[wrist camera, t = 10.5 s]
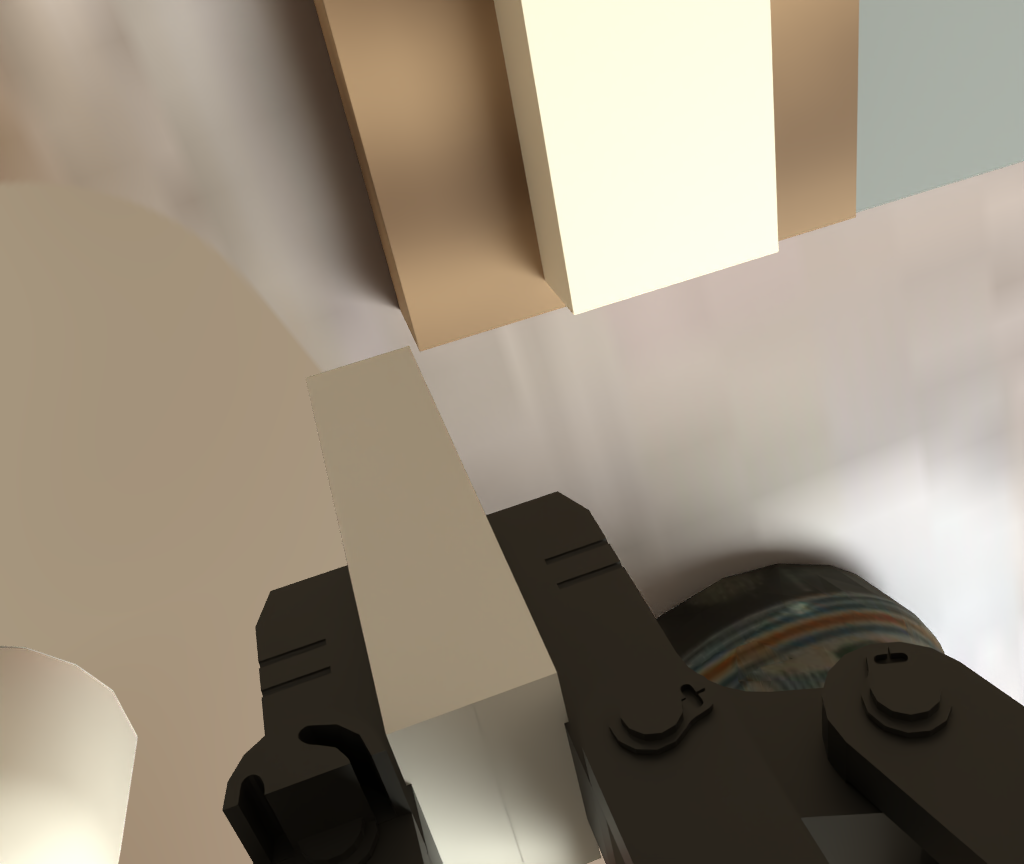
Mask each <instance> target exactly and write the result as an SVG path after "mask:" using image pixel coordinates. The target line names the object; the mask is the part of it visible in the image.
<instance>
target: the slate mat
mask: <svg viewBox="0 0 1024 864" xmlns="http://www.w3.org/2000/svg"><path fill="white" fill-rule="evenodd" d="M1023 161H1024V0H859V48H858V112H857V176H856V213H857V212H860V211H863V210H867V209H870V208H873V207H876V206H880V205H883V204H886V203H889V202H893V201H896V200H899V199H902V198H906V197H909V196H912V195H915V194H919V193H922V192H925V191H928V190H932V189H935V188H938V187H941V186H945V185H948V184H951V183H954V182H958V181H961V180H964V179H967V178H971V177H974V176H977V175H980V174H984V173H987V172H990V171H993V170H997V169H1000V168H1003V167H1006V166H1010V165H1013V164H1016V163H1019V162H1023Z"/></svg>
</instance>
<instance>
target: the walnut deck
mask: <svg viewBox="0 0 1024 864" xmlns="http://www.w3.org/2000/svg"><path fill="white" fill-rule="evenodd" d="M314 4H315V7H316V11H317V14H318V18H319V22H320V25H321V29H322V32H323V36H324V39H325V43H326V46H327V50H328V54H329V57H330V61H331V64H332V68H333V71H334V75H335V79H336V82H337V86H338V89H339V93H340V96H341V100H342V104H343V107H344V111H345V114H346V118H347V121H348V125H349V128H350V132H351V136H352V139H353V143H354V146H355V150H356V153H357V157H358V161H359V164H360V168H361V171H362V175H363V178H364V182H365V185H366V189H367V193H368V196H369V200H370V203H371V207H372V210H373V214H374V218H375V221H376V225H377V228H378V232H379V235H380V239H381V242H382V246H383V250H384V253H385V257H386V260H387V264H388V267H389V271H390V275H391V278H392V282H393V285H394V289H395V292H396V296H397V299H398V303H399V307H400V310H401V312H402V315H403V317H404V319H405V321H406V323H407V325H408V327H409V329H410V331H411V334H412V336H413V338H414V340H415V342H416V344H417V346H418V348H419V351H423V350H427V349H430V348H433V347H436V346H440V345H443V344H446V343H449V342H453V341H456V340H459V339H462V338H466V337H469V336H472V335H475V334H479V333H482V332H485V331H488V330H491V329H495V328H498V327H501V326H504V325H508V324H511V323H514V322H517V321H521V320H524V319H527V318H530V317H534V316H537V315H540V314H543V313H547V312H550V311H553V310H556V309H560V308H563V307H566V305H565V304H564V303H563V301H562V300H561V299H560V298H559V297H558V295H557V294H556V293H555V292H554V291H553V289H552V288H551V287H550V286H549V285H548V284H547V282H546V281H545V278H544V273H543V267H542V262H541V256H540V251H539V245H538V240H537V234H536V229H535V223H534V218H533V212H532V207H531V201H530V196H529V191H528V185H527V180H526V174H525V169H524V163H523V158H522V152H521V147H520V141H519V136H518V130H517V125H516V119H515V114H514V109H513V103H512V98H511V92H510V87H509V81H508V76H507V70H506V65H505V59H504V54H503V48H502V43H501V37H500V32H499V26H498V21H497V16H496V10H495V5H494V0H314ZM770 10H771V40H772V71H773V101H774V132H775V162H776V193H777V224H778V241H780V240H783V239H787V238H790V237H793V236H796V235H800V234H803V233H806V232H809V231H813V230H816V229H819V228H822V227H826V226H829V225H832V224H835V223H839V222H842V221H845V220H848V219H851V218H855V217H856V176H857V112H858V48H859V0H770Z"/></svg>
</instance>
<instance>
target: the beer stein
mask: <svg viewBox="0 0 1024 864" xmlns="http://www.w3.org/2000/svg"><path fill="white" fill-rule="evenodd" d="M657 622H658V624H659V625H660V627H661V628H662V630H663V632H664V633H665V635H666V637H667V638H668V640H669V641H670V643H671V645H672V646H673V648H674V650H675V651H676V653H677V654H678V655H679V656H680V658H681V659H682V660H683V661H684V662H685V664H686V665H687V666H688V667H689V668H691V669H692V670H694V671H695V672H696V673H698V674H700V675H703V676H705V678H706V679H707V680H710V681H712V682H714V683H717V684H719V685H721V686H724V687H728V688H733V689H738V690H742V691H754V692H774V691H787V690H800V689H813V688H823V687H824V683H825V680H826V676H827V673H828V671H829V670H830V669H831V668H832V667H833V666H834V665H835V664H836V663H837V662H838V661H839V660H840V659H841V658H842V657H843V656H844V655H845V654H847V653H849V652H852V651H854V650H857V649H859V648H861V647H864V646H866V645H869V644H876V643H888V642H905V643H910V644H915V645H920V646H925V647H930V648H933V649H935V650H937V651H939V652H941V653H943V654H944V651H943V649H942V647H941V645H940V643H939V642H938V640H937V639H936V637H935V636H934V635H933V634H932V632H931V631H930V630H929V629H928V628H927V627H926V626H925V625H924V624H923V623H922V621H921V620H920V619H919V618H918V617H917V616H916V615H915V614H914V613H912V612H911V611H909V610H908V609H906V608H905V607H903V606H902V605H900V604H899V603H898V602H896V601H895V600H893V599H892V598H890V597H889V596H887V595H886V594H884V593H883V592H881V591H880V590H878V589H877V588H875V587H874V586H872V585H871V584H870V583H868V582H867V581H865V580H864V579H862V578H861V577H859V576H858V575H856V574H853V573H851V572H848V571H845V570H842V569H839V568H836V567H833V566H831V565H800V564H775V565H772V566H768V567H764V568H760V569H757V570H753V571H749V572H745V573H742V574H738V575H734V576H730V577H727V578H723V579H721V580H719V581H718V582H716V583H714V584H713V585H711V586H709V587H708V588H706V589H705V590H703V591H701V592H700V593H698V594H696V595H695V596H693V597H691V598H690V599H688V600H686V601H685V602H683V603H681V604H680V605H678V606H676V607H675V608H673V609H671V610H670V611H668V612H666V613H665V614H663V615H661V616H660V617H658V618H657Z"/></svg>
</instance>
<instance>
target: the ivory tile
mask: <svg viewBox="0 0 1024 864" xmlns="http://www.w3.org/2000/svg"><path fill="white" fill-rule="evenodd" d="M494 5H495V10H496V16H497V21H498V26H499V32H500V37H501V43H502V48H503V54H504V59H505V65H506V70H507V76H508V81H509V87H510V92H511V98H512V103H513V109H514V114H515V119H516V125H517V130H518V136H519V141H520V147H521V152H522V158H523V163H524V169H525V174H526V180H527V185H528V191H529V196H530V201H531V207H532V212H533V218H534V223H535V229H536V234H537V240H538V245H539V251H540V256H541V262H542V267H543V273H544V278H545V281H546V282H547V284H548V285H549V286H550V287H551V288H552V289H553V291H554V292H555V293H556V294H557V295H558V297H559V298H560V299H561V300H562V301H563V303H564V304H565V305H566V306H567V307H568V309H569V310H570V311H571V312H572V313H573V314H574V315H576V314H579V313H582V312H586V311H589V310H592V309H595V308H598V307H602V306H605V305H608V304H611V303H615V302H618V301H621V300H624V299H627V298H631V297H634V296H637V295H640V294H644V293H647V292H650V291H653V290H656V289H660V288H663V287H666V286H669V285H673V284H676V283H679V282H682V281H686V280H689V279H692V278H695V277H698V276H702V275H705V274H708V273H711V272H715V271H718V270H721V269H724V268H727V267H731V266H734V265H737V264H740V263H744V262H747V261H750V260H753V259H756V258H760V257H763V256H766V255H769V254H773V253H776V252H778V224H777V193H776V162H775V132H774V101H773V71H772V40H771V10H770V0H494Z"/></svg>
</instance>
